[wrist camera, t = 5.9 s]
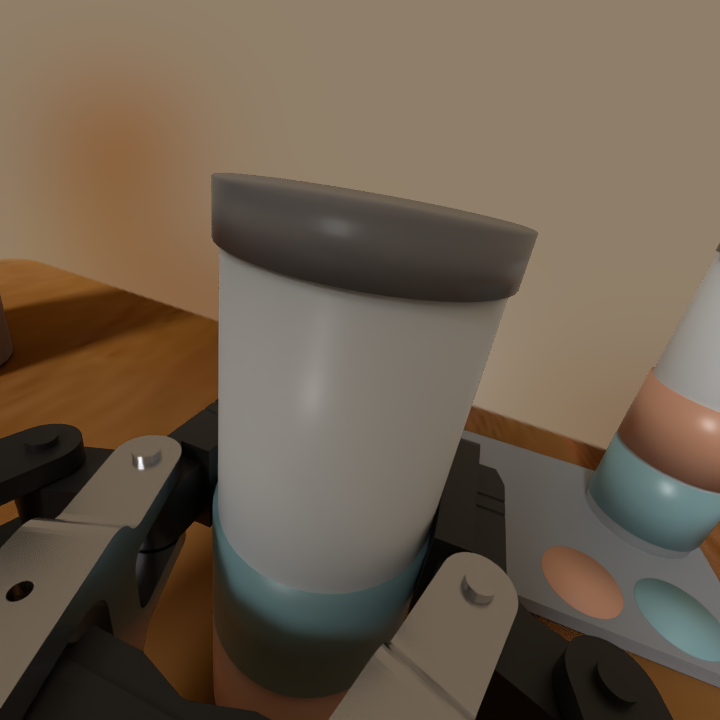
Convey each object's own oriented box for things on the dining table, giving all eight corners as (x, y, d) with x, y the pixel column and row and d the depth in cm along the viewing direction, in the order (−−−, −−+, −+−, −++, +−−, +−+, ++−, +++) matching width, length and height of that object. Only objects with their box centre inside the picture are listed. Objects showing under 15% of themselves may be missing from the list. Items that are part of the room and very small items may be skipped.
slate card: (375, 550, 16) (378, 539, 16) (419, 424, 25) (421, 415, 24) (776, 710, 13) (788, 700, 13) (663, 502, 22) (669, 493, 21)
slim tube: (173, 726, 10) (121, 163, 4) (268, 571, 14) (304, 179, 9) (344, 823, 9) (562, 253, 3) (392, 625, 13) (526, 221, 8)
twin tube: (594, 536, 18) (776, 236, 12) (576, 470, 22) (703, 225, 16) (715, 577, 17) (976, 270, 11) (671, 500, 21) (843, 250, 15)
